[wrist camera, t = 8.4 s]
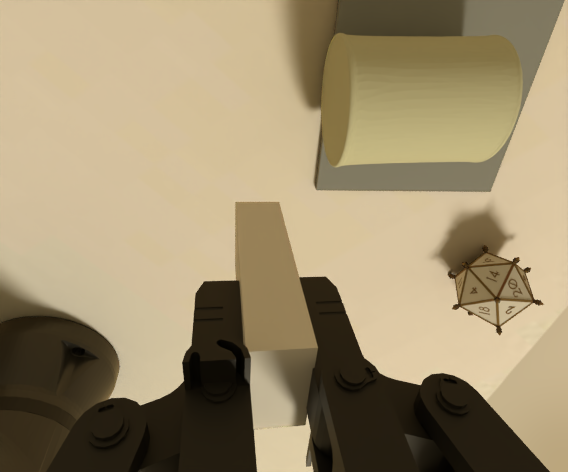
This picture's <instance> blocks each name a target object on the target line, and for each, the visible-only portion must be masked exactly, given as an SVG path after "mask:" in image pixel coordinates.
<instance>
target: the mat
mask: <svg viewBox="0 0 568 472" xmlns="http://www.w3.org/2000/svg"><path fill="white" fill-rule="evenodd" d="M563 3H564V0H338V8H337V16H336V24H335V32H334V36H335V35H336V34H338V33H344V34H346V35H358V36H433V37H444V36H488V35H500V36H503V37H504V38H506V39H507V40H509V41H510V42H511V43H512V45H513V46H514V48H515V49H516V51H517V54H518V56H519V59H520V63H521V68H522V78H523V88H522V99H521V105H520V109H519V113H518V117H517V120H516V122H515V125H514V127H513V130H512V132H511V134H510V136H509V137H508V139H507V141H506V142H505V144H504V145H503V146H502V148H501V149H500V150H499V151H498V152H497V153H496V154H495V155H494V156H492V157H491V158H489V159H488V160H486V161H483V162H478V163H474V162H419V163H383V164H358V165H345V166H340V167H333V166H332V165H331V164H330V163H329V161H328V159H327V156H326V153H325V148H324V143H323V135H322V138H321V146H320V154H319V162H318V170H317V178H316V186H315V188H316V190H349V191H460V192H490V191H491V188H492V186H493V183H494V181H495V178H496V176H497V173H498V170H499V168H500V165H501V163H502V160H503V158H504V155H505V152H506V150H507V147H508V145H509V142H510V140H511V137H512V134H513V132H514V129H515V127H516V124H517V122H518V119H519V116H520V114H521V111H522V109H523V106H524V104H525V101H526V98H527V96H528V93H529V91H530V88H531V85H532V83H533V80H534V78H535V75H536V73H537V70H538V67H539V65H540V62H541V60H542V57H543V55H544V52H545V49H546V47H547V44H548V42H549V39H550V37H551V34H552V31H553V29H554V26H555V24H556V21H557V19H558V16H559V13H560V11H561V8H562V6H563Z"/></svg>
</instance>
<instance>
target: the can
mask: <svg viewBox="0 0 568 472" xmlns="http://www.w3.org/2000/svg"><path fill="white" fill-rule="evenodd" d="M522 88H523V78H522V68H521V63H520V59H519V56H518V54H517V51H516V49H515V48H514V46H513V45H512V43H511V42H510V41H509V40H507V39H506V38H504V37H503V36H500V35H488V36H444V37H433V36H358V35H346V34H344V33H338V34H336V35H335V36H334V37H333V38H332V40H331V42H330V45H329V48H328V51H327V55H326V60H325V65H324V72H323V81H322V94H321V122H322V135H323V143H324V148H325V153H326V156H327V159H328V161H329V163H330V164H331V165H332V166H333V167H340V166H345V165H358V164H383V163H419V162H474V163H478V162H483V161H486V160H488V159H489V158H491V157H492V156H494V155H495V154H496V153H497V152H498V151H499V150H500V149H501V148H502V146H503V145H504V144H505V142H506V141H507V139H508V137H509V136H510V134H511V132H512V130H513V127H514V125H515V122H516V120H517V117H518V113H519V109H520V105H521V99H522Z"/></svg>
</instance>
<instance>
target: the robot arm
mask: <svg viewBox="0 0 568 472" xmlns="http://www.w3.org/2000/svg"><path fill="white" fill-rule="evenodd" d="M235 270H236V281H205V282H203V284H202V285H201V287H200V288H199V290H198V291H197V293H196V295H195V311H194V322H193V334H192V346H191V347H190V348H189V349H188V350H187V351H186V353H185V356H184V359H183V362H182V364H183V374H184V382H183V383H182V384H181V385H180V386H179V387H178V388H177V389H176V390H174V391H173V392H172V393H170V394H168V395H166V396H164V397H162V398H160V399H157V400H155V401H152V402H149V403H146V404H144V405H141V406H140V405H139V404H138V403H137V402H136V401H133V400H130V399H127V398H111V399H109V397H110V396H111V394H112V392H113V390H114V387H115V384H116V380H117V377H118V373H119V360H118V357H117V354H116V352H115V350H114V349H113V347H112V346H111V345H110V344H109V343H108V342H107V341H106V340H105V339H104V338H103V337H102V336H100V335H99V334H97V333H96V332H94V331H93V330H91V329H89V328H87V327H85V326H83V325H80V324H77V323H75V322H71V321H68V320H64V319H59V318H53V317H40V316H37V317H22V318H17V319H12V320H9V321H6V322H3V323H1V324H0V472H257V467H256V454H255V441H254V430H255V429H266V428H278V427H289V426H300V425H305V424H306V418H307V414H308V419H309V424H310V429H311V434H310V439H309V445H308V450H307V456H306V467H307V466H311V462H312V465H313V470H314V472H550V471H549V470H548V469H547V468H546V467H545V466H544V465H543V464H542V463H541V462H540V460H539V459H538V458H537V457H536V456H535V455H534V454H533V453H532V452H531V451H530V449H529V448H528V447H527V446H526V445H525V444H524V443H523V442H522V440H521V439H520V438H519V437H518V436H517V435H516V434H515V433H514V432H513V430H512V429H511V428H510V427H509V426H508V425H507V424H506V423H505V422H504V420H502V418H501V417H500V416H499V415H498V414H497V413H496V412H495V411H494V409H493V408H492V407H491V406H490V405H489V404H488V403H487V402H486V401H485V399H484V398H483V397H482V396H481V395H480V394H479V393H478V392H477V391H476V390H475V389H474V388H473V387H472V386H471V385H469V384H468V383H467V382H466V381H464V380H462V379H460V378H458V377H456V376H453V375H448V374H444V373H440V374H432V375H430V376H428V377H427V378H425V379H424V380H423V382H422V384H421V385H417V384H412V383H408V382H403V381H398V380H395V379H391V378H388V377H386V376H384V375H382V374H380V373H379V372H378V370H377V369H376V367H375V366H374V365H373V364H371V363H370V362H369V361H368V360H366V359H364V357H363V355H362V353H361V350H360V347H359V345H358V342H357V339H356V337H355V334H354V332H353V329H352V326H351V324H350V321H349V318H348V316H347V314H346V311H345V308H344V305H343V303H342V300H341V297H340V295H339V292H338V290H337V287H336V286H335V285H334V284H333V283H332V282H331V281H330V280H329V279H328V278H327V277H299V275H298V271H297V267H296V264H295V260H294V256H293V252H292V249H291V245H290V241H289V238H288V234H287V230H286V226H285V223H284V219H283V215H282V211H281V208H280V204H279V202H236V209H235Z"/></svg>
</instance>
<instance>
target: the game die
mask: <svg viewBox="0 0 568 472" xmlns="http://www.w3.org/2000/svg"><path fill="white" fill-rule="evenodd" d="M487 248H488V247H486V246H485V245H484V247H483V248H482V249H483V251H484V253H483V254H482V255H481V256H479V257H478V258H477V259H476V260H475V261H473V262H472V263H471V264H470V265H468V264H467V262H465V263H464V262H462V266H463V267H464V268H465V269H463V270H462V271H461V272H460V273H459V274H457V275H456V276H455V275H453V274H449V275H448V276H449V277H450V278H452V279H455V283H456V290H457V297H458V304H457V305H456V304H455V305H453V308H452V309H454V310H457V309H458V308H459V307H461V308H463V309H465V310H467V311H469V312H468V315H473V314H474V315H476V316H478V317H480V318H481V319H483V320H485V321H487V322H489V323H491V324H492V325H494V326H496V327H497V329H496V330H497V333H498V334H499V335H501V333H502V331H501V330H502V329H501V328H500V326H502V325H503V324H505V323H506V322H507V321H509V320H510V319H512V318H513V317H514V316H516V315H517V314H518V313H520V312H521V311H523V310H524V309H525V308H527V307H528V306H530V305H531V304H532V303H535V304H536V305H544V304H543V303H542V302H541V300H540V301H539V300H534V297H533V294H532V291H531V288H530V285H529V282H528V279H527V276H526V273H528V272H530V270H531V268H528V267H527V268H525V269H524V270H523V269H521V268H520V267H519V266H518V265H517V263H518V262H519V261H520V260H519V257H517V258H514V259H513V262H512V261H509V260H507V259H504V258H501V257H498V256H496V255H493V254H490V253H488V252H487V251H488V249H487Z"/></svg>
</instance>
